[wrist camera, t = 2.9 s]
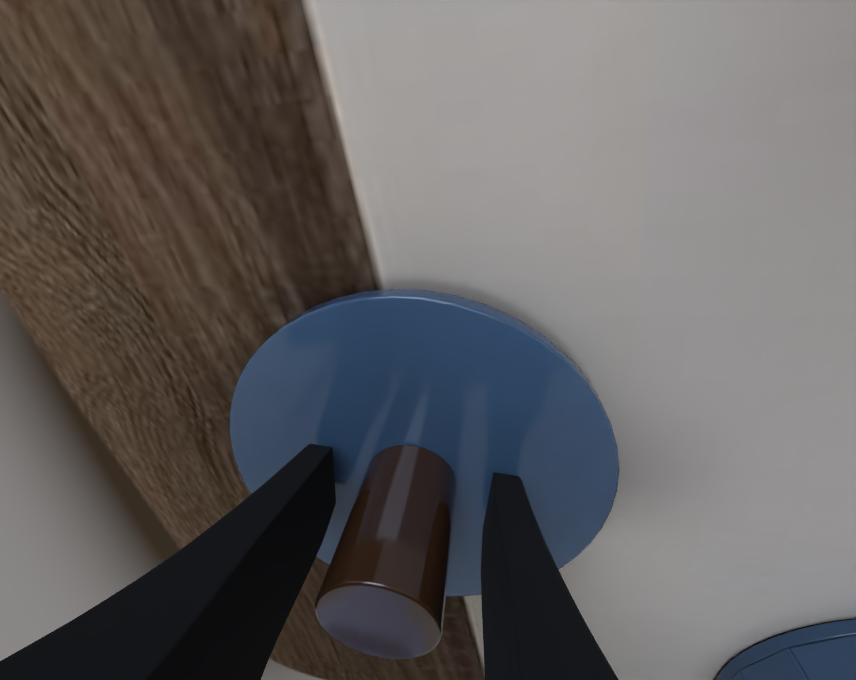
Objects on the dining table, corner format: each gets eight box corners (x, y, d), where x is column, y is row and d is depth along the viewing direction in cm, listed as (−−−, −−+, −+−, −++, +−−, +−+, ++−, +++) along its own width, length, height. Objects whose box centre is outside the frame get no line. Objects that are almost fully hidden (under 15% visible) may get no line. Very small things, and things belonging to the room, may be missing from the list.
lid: (559, 587, 13) (592, 791, 9) (273, 535, 14) (183, 695, 10) (664, 305, 8) (834, 459, 4) (222, 258, 9) (11, 344, 5)
